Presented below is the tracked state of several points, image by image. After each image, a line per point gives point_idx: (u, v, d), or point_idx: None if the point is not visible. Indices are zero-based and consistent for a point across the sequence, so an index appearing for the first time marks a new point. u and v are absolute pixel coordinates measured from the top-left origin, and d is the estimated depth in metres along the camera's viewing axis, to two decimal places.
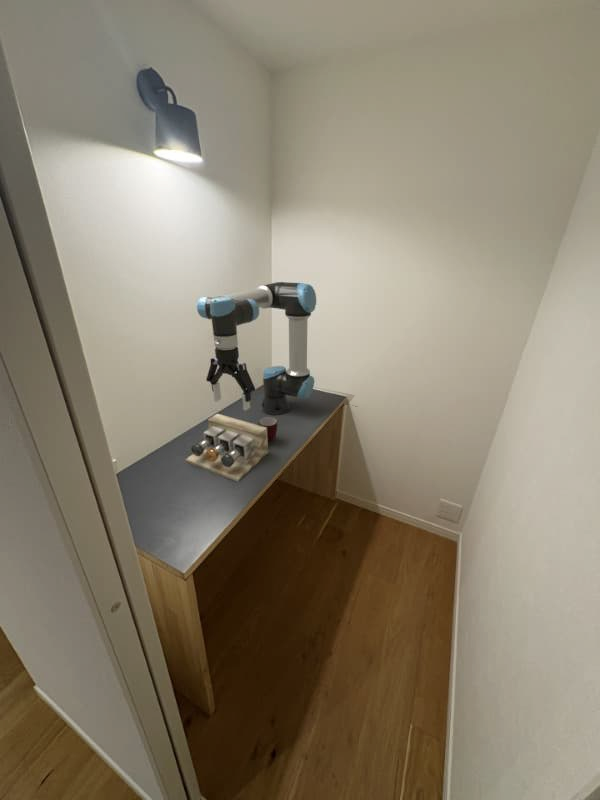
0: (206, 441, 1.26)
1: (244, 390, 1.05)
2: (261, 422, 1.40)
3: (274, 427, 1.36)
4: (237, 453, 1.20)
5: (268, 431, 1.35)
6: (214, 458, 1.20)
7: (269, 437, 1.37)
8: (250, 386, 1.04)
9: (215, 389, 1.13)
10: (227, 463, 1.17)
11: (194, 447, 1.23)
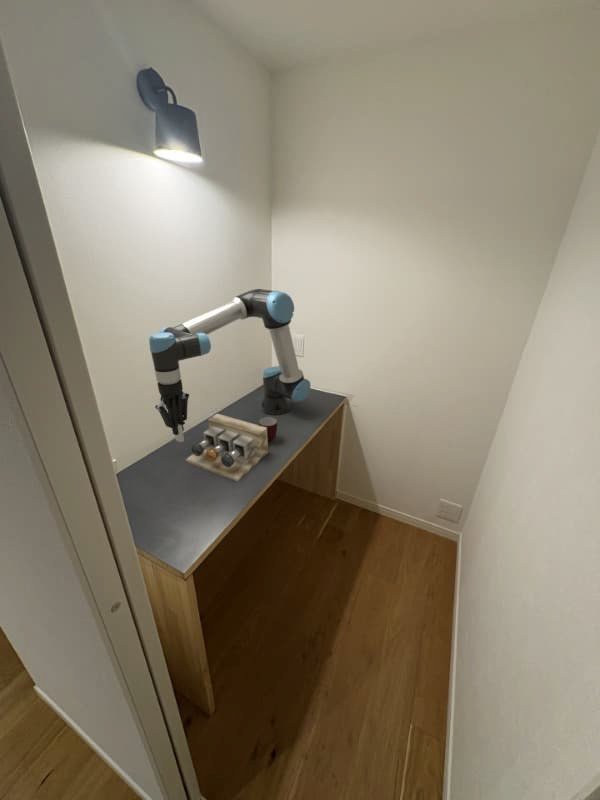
0: (206, 441, 1.26)
1: None
2: (261, 422, 1.40)
3: (274, 427, 1.36)
4: (237, 453, 1.20)
5: (268, 431, 1.35)
6: (214, 458, 1.20)
7: (269, 437, 1.37)
8: (166, 423, 1.08)
9: None
10: (227, 463, 1.17)
11: (194, 447, 1.23)
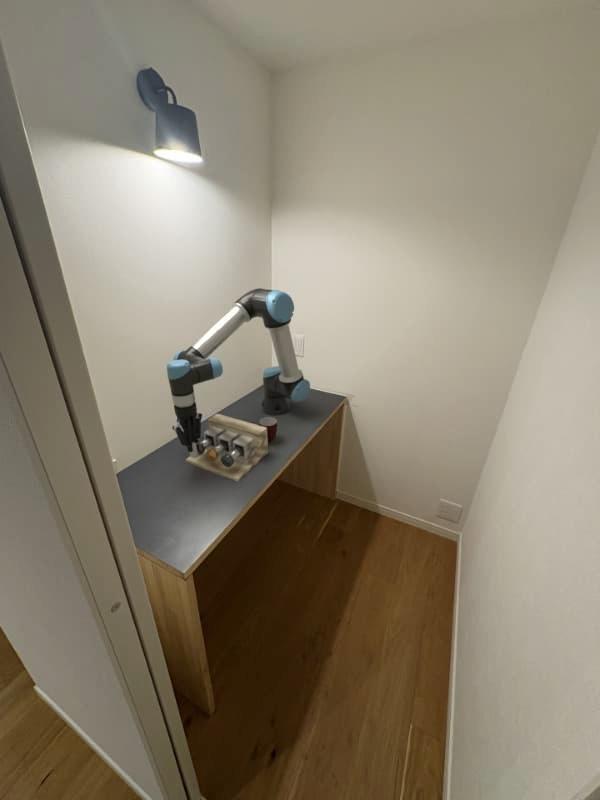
0: (207, 440, 1.27)
1: None
2: (261, 422, 1.40)
3: (274, 427, 1.36)
4: (237, 453, 1.20)
5: (268, 431, 1.35)
6: (214, 458, 1.20)
7: (269, 437, 1.37)
8: (182, 442, 1.16)
9: None
10: (227, 463, 1.17)
11: None
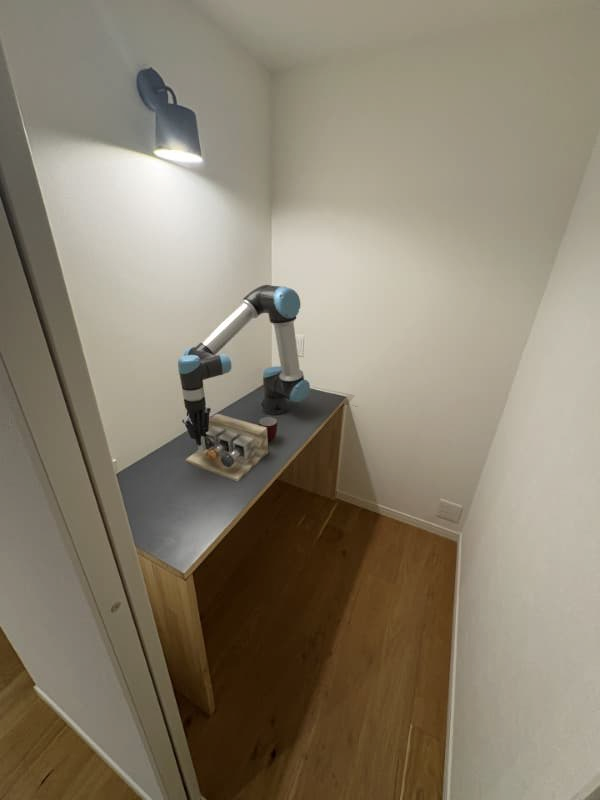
0: None
1: None
2: (261, 422, 1.40)
3: (274, 427, 1.36)
4: (237, 453, 1.20)
5: (268, 431, 1.35)
6: (214, 458, 1.20)
7: (269, 437, 1.37)
8: (191, 435, 1.20)
9: None
10: (227, 463, 1.17)
11: None
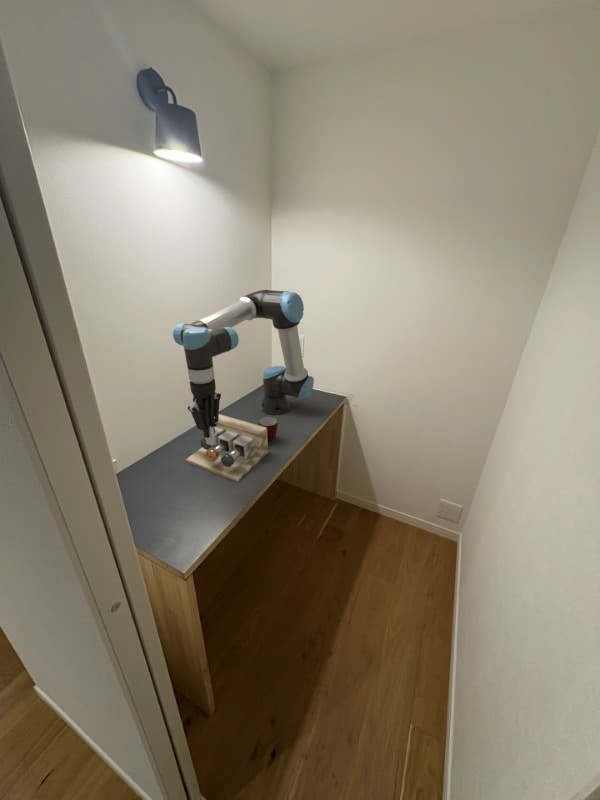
0: None
1: None
2: (261, 422, 1.40)
3: (274, 427, 1.36)
4: (237, 453, 1.20)
5: (268, 431, 1.35)
6: (214, 458, 1.20)
7: (269, 437, 1.37)
8: (198, 425, 1.00)
9: None
10: (227, 463, 1.17)
11: (203, 441, 1.27)
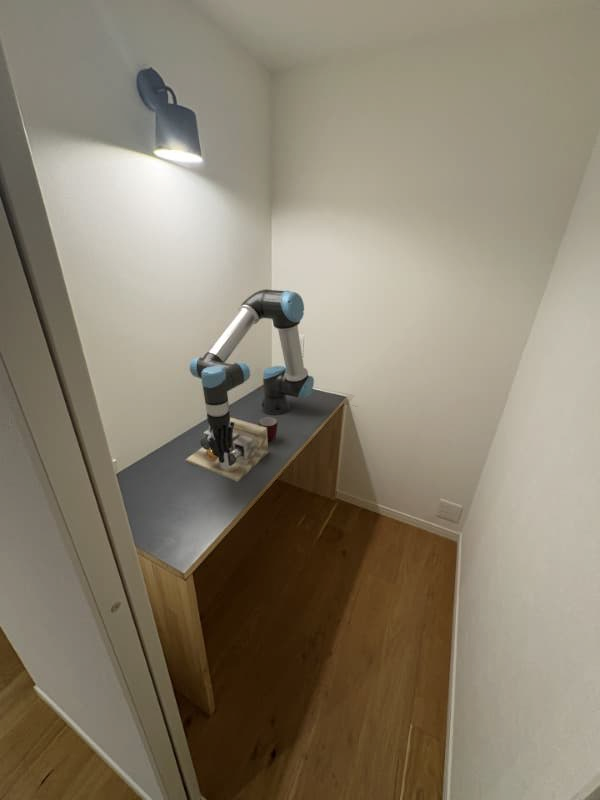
0: None
1: None
2: (261, 422, 1.40)
3: (274, 427, 1.36)
4: (239, 451, 1.21)
5: (268, 431, 1.35)
6: (214, 458, 1.20)
7: (269, 437, 1.37)
8: (214, 452, 1.10)
9: None
10: (229, 461, 1.18)
11: (203, 441, 1.27)
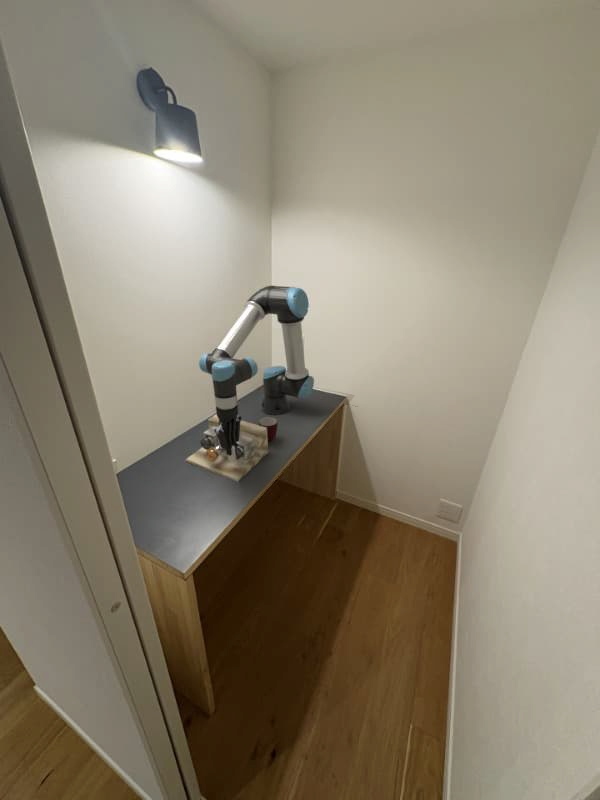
0: None
1: None
2: (261, 422, 1.40)
3: (274, 427, 1.36)
4: None
5: (268, 431, 1.35)
6: (214, 458, 1.20)
7: (269, 437, 1.37)
8: (222, 445, 1.14)
9: None
10: (236, 455, 1.21)
11: (203, 441, 1.27)
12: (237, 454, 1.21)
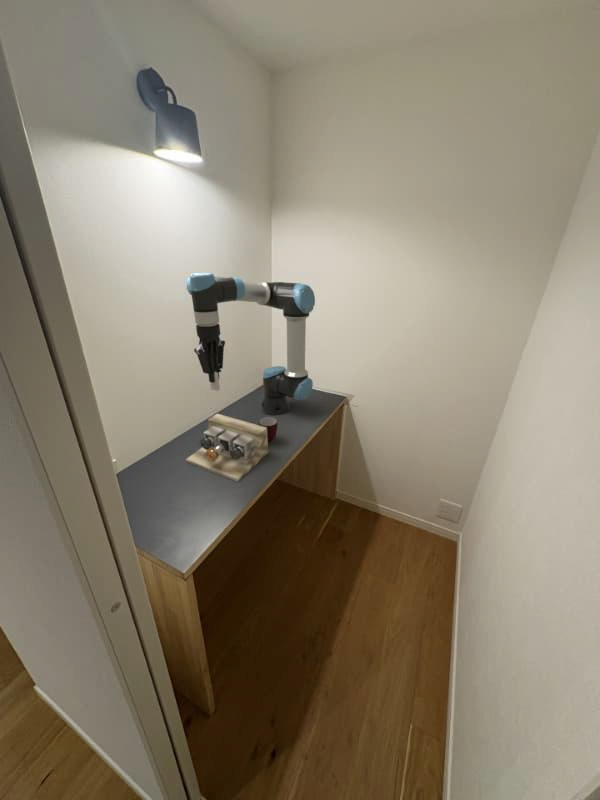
0: None
1: None
2: (261, 422, 1.40)
3: (274, 427, 1.36)
4: None
5: (268, 431, 1.35)
6: (214, 458, 1.20)
7: (269, 437, 1.37)
8: (203, 369, 1.06)
9: None
10: (236, 456, 1.21)
11: (203, 441, 1.27)
12: (237, 454, 1.20)
